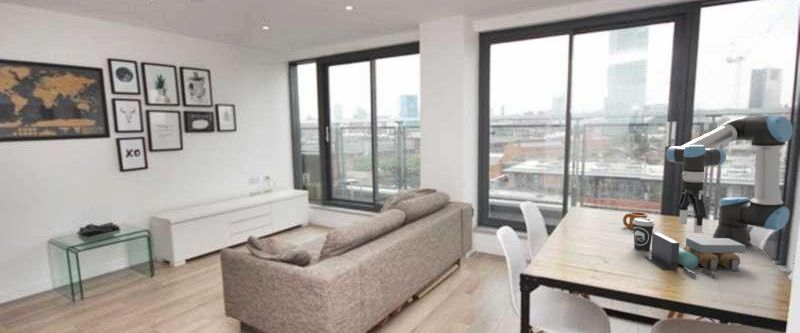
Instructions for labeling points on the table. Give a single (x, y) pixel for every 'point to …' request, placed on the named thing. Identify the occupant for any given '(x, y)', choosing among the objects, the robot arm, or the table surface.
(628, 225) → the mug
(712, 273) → the roller bed
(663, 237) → the block
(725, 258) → the roller
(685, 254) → the roller
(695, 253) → the roller
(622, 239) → the table surface
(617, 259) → the table surface
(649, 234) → the coffee cup
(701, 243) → the slab
